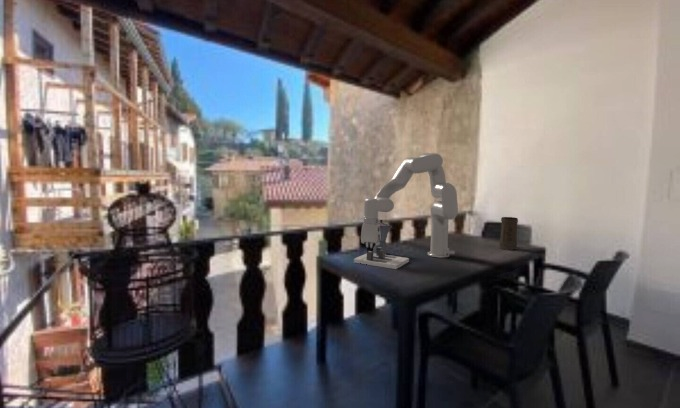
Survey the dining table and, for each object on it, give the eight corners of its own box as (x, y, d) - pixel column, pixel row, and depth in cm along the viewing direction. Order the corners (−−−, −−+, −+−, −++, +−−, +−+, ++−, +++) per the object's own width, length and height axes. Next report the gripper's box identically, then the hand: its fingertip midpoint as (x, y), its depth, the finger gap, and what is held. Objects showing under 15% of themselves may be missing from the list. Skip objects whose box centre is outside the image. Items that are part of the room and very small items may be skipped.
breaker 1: (373, 258, 221) (373, 251, 221) (370, 260, 219) (371, 252, 218) (369, 258, 222) (369, 250, 222) (366, 259, 220) (366, 251, 219)
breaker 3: (384, 257, 224) (385, 250, 224) (382, 258, 222) (382, 251, 221) (380, 257, 225) (381, 249, 225) (378, 258, 223) (378, 250, 222)
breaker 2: (382, 254, 231) (382, 247, 231) (380, 255, 229) (380, 248, 228) (378, 253, 233) (378, 246, 232) (376, 255, 230) (376, 247, 230)
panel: (408, 261, 226) (408, 257, 225) (395, 269, 210) (396, 265, 210) (368, 255, 238) (368, 252, 237) (353, 262, 222) (353, 258, 222)
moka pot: (390, 256, 237) (391, 221, 235) (363, 254, 240) (364, 220, 238) (391, 252, 247) (392, 219, 244) (366, 251, 250) (366, 217, 247)
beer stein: (520, 250, 258) (521, 218, 257) (502, 250, 258) (504, 217, 257) (510, 247, 273) (511, 216, 272) (493, 246, 273) (495, 216, 273)
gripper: (386, 221, 224) (385, 255, 226) (361, 219, 232) (360, 251, 234) (380, 223, 218) (379, 257, 220) (355, 220, 225) (354, 254, 227)
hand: (369, 254), depth 227 cm, fingers closed
